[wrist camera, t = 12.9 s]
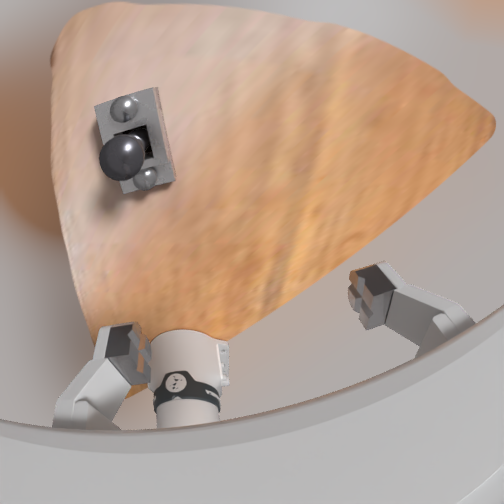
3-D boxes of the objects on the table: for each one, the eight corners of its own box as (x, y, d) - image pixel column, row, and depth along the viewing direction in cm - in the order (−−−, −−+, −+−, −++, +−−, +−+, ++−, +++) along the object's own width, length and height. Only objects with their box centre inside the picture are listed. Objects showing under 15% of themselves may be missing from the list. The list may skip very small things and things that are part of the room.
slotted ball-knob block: (176, 175, 35) (173, 189, 31) (126, 188, 34) (118, 203, 30) (157, 87, 28) (151, 87, 24) (104, 103, 27) (91, 107, 23)
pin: (160, 150, 33) (148, 174, 24) (128, 159, 32) (106, 186, 24) (153, 118, 30) (137, 130, 22) (120, 128, 30) (94, 144, 21)
